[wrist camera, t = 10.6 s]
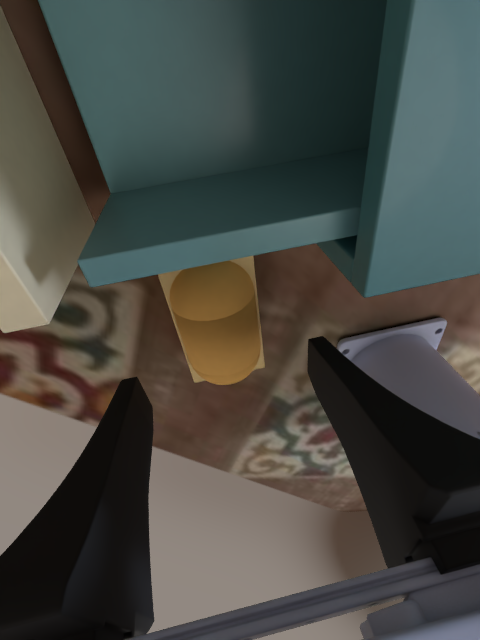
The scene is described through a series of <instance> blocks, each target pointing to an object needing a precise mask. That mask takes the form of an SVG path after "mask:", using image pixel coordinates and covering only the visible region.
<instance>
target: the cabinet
mask: <svg viewBox="0 0 480 640" xmlns="http://www.w3.org/2000/svg"><path fill="white" fill-rule="evenodd" d="M316 244H317V245H318V246H319V247H320V248H321V249H322V251H323V252H324V253H325V254H326V255H327V256H328V257H329V259H330V260H331V261H332V262H333V263H334V264H335V265H336V267H337V268H338V269H339V270H340V271H341V272H342V273H343V275H344V276H345V277H346V278H347V279H348V280H349V281H350V282H352V285H353V286H354V287H355V288H356V289H357V290H358V292H359V293H360V294H361V295H362V296H363V297H364V298H367V297H371V296H376V295H381V294H386V293H390V292H395V291H400V290H405V289H409V288H414V287H419V286H424V285H428V284H433V283H438V282H443V281H447V280H452V279H457V278H462V277H466V276H471V275H476V274H480V0H387V6H386V13H385V21H384V29H383V37H382V45H381V53H380V61H379V69H378V77H377V84H376V92H375V100H374V108H373V116H372V124H371V132H370V140H369V147H368V155H367V163H366V171H365V179H364V187H363V195H362V203H361V210H360V218H359V226H358V234H357V235H355V236H350V237H345V238H340V239H335V240H330V241H325V242H320V243H316Z"/></svg>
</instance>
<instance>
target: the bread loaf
mask: <svg viewBox="0 0 480 640" xmlns="http://www.w3.org/2000/svg"><path fill="white" fill-rule="evenodd" d="M158 277H159V280H160V283H161V286H162V289H163V292H164V294H165V297H166V300H167V303H168V306H169V309H170V312H171V315H172V318H173V321H174V324H175V327H176V330H177V333H178V336H179V339H180V342H181V345H182V348H183V351H184V354H185V357H186V360H187V363H188V365H189V368H190V371H191V374H192V377H193V380H194V382H195V383H196V382H201V381H205V380H206V381H208V382H211V383H213V384H218V385H228V384H233V383H236V382H239V381H241V380H243V379H244V378H246V377H247V376H248V375H249V374H250V373H251V372H252V371H253V370H255V369H260V368H264V367H265V363H264V353H263V344H262V334H261V325H260V315H259V306H258V296H257V287H256V277H255V267H254V258H253V256H249V257H244V258H239V259H233V260H228V261H223V262H218V263H213V264H208V265H203V266H198V267H193V268H188V269H183V270H178V271H173V272H168V273H163V274H158Z"/></svg>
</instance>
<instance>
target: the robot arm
mask: <svg viewBox="0 0 480 640" xmlns="http://www.w3.org/2000/svg"><path fill="white" fill-rule="evenodd" d="M446 325H447V321H446V320H445V319H444V318H435V319H431V320H426V321H422V322H417V323H412V324H408V325H403V326H399V327H394V328H389V329H385V330H380V331H376V332H371V333H366V334H362V335H357V336H353V337H348V338H344V339H342V340H340V341H339V342H338V345H337V349H336V348H335V347H334V346H333V345H332V344H331V343H330V342H329V341H328V340H327V339H326V338H324V337H323V336H321V337H316V338H312V339H308V374H309V377H310V380H311V382H312V385H313V388H314V390H315V393H316V395H317V397H318V399H319V401H320V403H321V405H322V407H323V409H324V411H325V413H326V414H327V416H328V418H329V420H330V422H331V424H332V426H333V428H334V430H335V432H336V434H337V436H338V438H339V440H340V442H341V444H342V446H343V448H344V450H345V453H346V455H347V458H348V460H349V463H350V465H351V468H352V470H353V473H354V475H355V478H356V481H357V483H358V486H359V488H360V491H361V494H362V496H363V499H364V502H365V505H366V507H367V510H368V513H369V516H370V518H371V521H372V524H373V527H374V530H375V533H376V536H377V539H378V541H379V544H380V547H381V550H382V553H383V557H384V560H385V563H386V565H387V567H388V569H385V570H381V571H378V572H374V573H370V574H367V575H363V576H359V577H355V578H352V579H348V580H344V581H341V582H337V583H334V584H330V585H326V586H322V587H318V588H315V589H311V590H307V591H304V592H300V593H296V594H292V595H289V596H285V597H281V598H278V599H274V600H270V601H267V602H263V603H259V604H256V605H252V606H248V607H244V608H241V609H237V610H234V611H230V612H226V613H222V614H219V615H215V616H211V617H208V618H204V619H200V620H196V621H193V622H189V623H186V624H182V625H178V626H174V627H171V628H167V629H163V630H160V631H156V632H152V633H149V634H146V633H147V632H148V631H149V629H150V628H151V626H152V624H153V622H154V612H153V599H152V586H151V568H150V548H149V512H148V511H149V509H148V493H149V477H150V466H151V454H152V442H153V410H152V405H151V403H150V401H149V399H148V397H147V395H146V393H145V391H144V389H143V387H142V385H141V383H140V382H139V380H138V378H137V377H133V378H129V379H124V380H122V381H121V382H120V384H119V386H118V388H117V390H116V392H115V394H114V396H113V398H112V400H111V402H110V404H109V406H108V408H107V410H106V412H105V414H104V416H103V418H102V419H101V421H100V423H99V425H98V427H97V429H96V431H95V432H94V434H93V436H92V437H91V439H90V441H89V442H88V444H87V446H86V447H85V449H84V451H83V452H82V454H81V456H80V457H79V459H78V460H77V462H76V463H75V465H74V466H73V468H72V469H71V471H70V472H69V473H68V475H67V476H66V478H65V479H64V480H63V482H62V483H61V485H60V486H59V487H58V488H57V490H56V491H55V492H54V494H53V495H52V496H51V498H50V499H49V500H48V502H47V503H46V504H45V505H44V507H43V508H42V509H41V510H40V512H39V513H38V514H37V515H36V516H35V518H34V519H33V520H32V521H31V522H30V523H29V525H28V526H27V527H26V528H25V529H24V530H23V532H22V533H21V534H20V535H19V536H18V537H17V539H16V540H15V541H14V542H13V543H12V544H11V545H10V546H9V547H8V548H7V549H6V551H5V552H4V553H3V554H2V555H1V556H0V640H253V639H257V638H260V637H264V636H268V635H271V634H275V633H278V632H282V631H286V630H289V629H293V628H296V627H300V626H304V625H307V624H311V623H314V622H318V621H322V620H325V619H329V618H332V617H336V616H340V615H343V614H347V613H350V612H354V611H358V610H361V609H365V608H368V607H372V606H376V605H379V604H383V603H386V602H390V601H393V600H397V599H400V598H404V597H405V599H404V601H403V602H401V603H398V604H395V605H392V606H389V607H387V608H384V609H381V610H379V611H376V612H373V613H371V614H368V616H367V620H366V621H365V622H363V623H361V625H360V629H361V632H362V635H363V638H364V639H363V640H480V395H479V394H478V393H477V392H476V391H475V390H474V389H473V388H472V387H471V386H470V385H469V384H468V383H467V382H466V381H465V380H464V379H463V378H462V377H461V376H460V375H459V374H458V373H457V372H456V371H455V369H454V368H453V367H452V366H451V365H450V364H449V363H448V362H447V361H446V360H445V359H444V358H443V357H442V356H441V355H440V354H439V353H438V352H437V351H436V350H437V348H438V345H439V343H440V340H441V338H442V335H443V333H444V330H445V328H446Z"/></svg>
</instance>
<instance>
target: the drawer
mask: <svg viewBox="0 0 480 640" xmlns="http://www.w3.org/2000/svg"><path fill="white" fill-rule="evenodd" d="M38 2H39V5H40V8H41V10H42V13H43V16H44V18H45V21H46V24H47V26H48V29H49V31H50V34H51V37H52V39H53V42H54V45H55V47H56V50H57V53H58V55H59V58H60V61H61V63H62V66H63V69H64V71H65V74H66V77H67V79H68V82H69V84H70V87H71V90H72V92H73V95H74V98H75V100H76V103H77V106H78V108H79V111H80V114H81V116H82V119H83V122H84V124H85V127H86V130H87V132H88V135H89V137H90V140H91V143H92V145H93V148H94V151H95V153H96V156H97V159H98V161H99V164H100V167H101V169H102V172H103V175H104V177H105V180H106V183H107V185H108V188H109V190H110V193H111V194H110V196H109V198H108V200H107V202H106V204H105V206H104V208H103V210H102V212H101V214H100V216H99V218H98V220H97V222H96V224H95V222H94V220H93V217H92V215H91V213H90V210H89V208H88V206H87V204H86V201H85V199H84V197H83V194H82V192H81V190H80V187H79V185H78V183H77V181H76V178H75V176H74V174H73V171H72V169H71V167H70V164H69V162H68V160H67V158H66V155H65V153H64V151H63V148H62V146H61V144H60V141H59V139H58V137H57V135H56V132H55V130H54V128H53V125H52V123H51V121H50V118H49V116H48V114H47V111H46V109H45V107H44V105H43V102H42V100H41V98H40V95H39V93H38V91H37V88H36V86H35V84H34V82H33V79H32V77H31V75H30V72H29V70H28V68H27V65H26V63H25V61H24V59H23V56H22V54H21V52H20V49H19V47H18V45H17V42H16V40H15V38H14V36H13V33H12V31H11V29H10V26H9V24H8V22H7V19H6V17H5V15H4V13H3V10H2V8H1V6H0V329H1V331H2V332H3V333H8V332H13V331H17V330H22V329H27V328H32V327H37V326H42V325H47V324H49V323H50V321H51V319H52V317H53V315H54V313H55V311H56V309H57V307H58V305H59V303H60V301H61V299H62V297H63V295H64V293H65V291H66V289H67V286H68V284H69V282H70V280H71V278H72V276H73V274H74V272H75V270H76V268H77V266H78V264H79V266H80V268H81V270H82V272H83V274H84V276H85V278H86V280H87V282H88V284H89V286H90V287H97V286H102V285H107V284H112V283H117V282H122V281H127V280H132V279H137V278H142V277H147V276H152V275H158V274H163V273H168V272H173V271H178V270H183V269H188V268H193V267H198V266H203V265H208V264H213V263H218V262H223V261H228V260H233V259H239V258H244V257H249V256H254V255H259V254H264V253H269V252H274V251H279V250H284V249H289V248H294V247H299V246H304V245H309V244H315V243H320V242H325V241H330V240H335V239H340V238H345V237H350V236H355V235H357V234H358V226H359V218H360V210H361V203H362V195H363V187H364V179H365V171H366V163H367V155H368V147H369V140H370V132H371V124H372V116H373V108H374V100H375V92H376V84H377V77H378V69H379V61H380V53H381V45H382V37H383V29H384V21H385V13H386V6H387V0H38Z"/></svg>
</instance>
